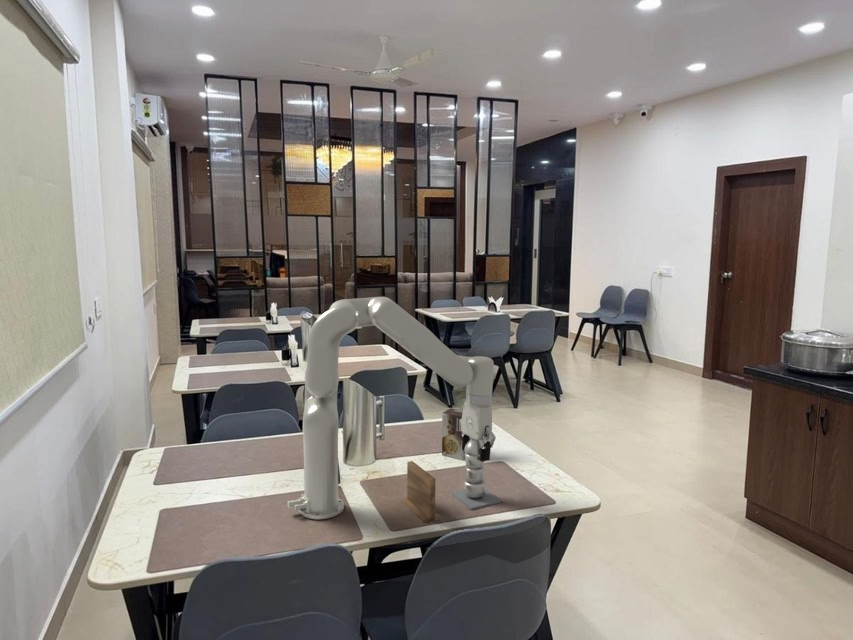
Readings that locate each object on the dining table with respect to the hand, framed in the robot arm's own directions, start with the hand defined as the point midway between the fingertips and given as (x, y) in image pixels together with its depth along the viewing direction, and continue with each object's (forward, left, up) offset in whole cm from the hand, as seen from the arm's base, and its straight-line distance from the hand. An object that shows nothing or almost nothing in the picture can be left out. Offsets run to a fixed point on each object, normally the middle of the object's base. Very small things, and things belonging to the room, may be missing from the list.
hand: (475, 454), depth 166 cm
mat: (+1, 0, -14) cm, 14 cm away
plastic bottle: (0, 0, -13) cm, 13 cm away
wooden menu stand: (-18, +1, -14) cm, 22 cm away
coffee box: (+13, +32, -14) cm, 37 cm away
